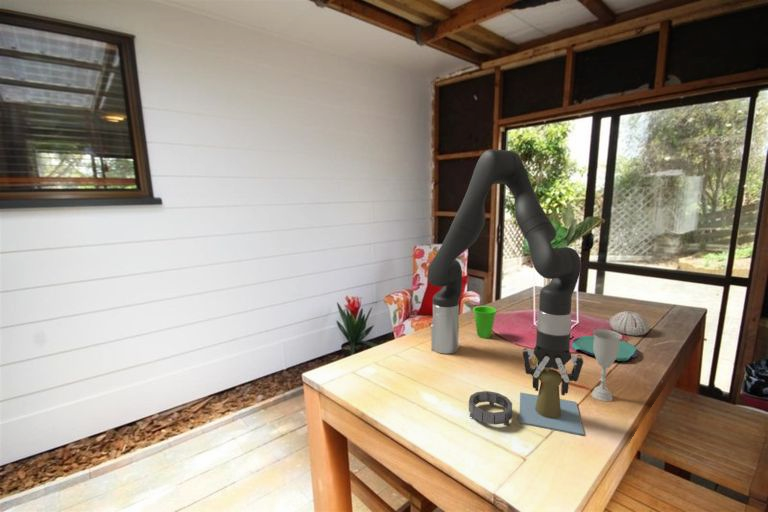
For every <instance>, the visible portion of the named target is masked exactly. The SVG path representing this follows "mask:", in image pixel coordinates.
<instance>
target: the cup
mask: <svg viewBox="0 0 768 512" xmlns="http://www.w3.org/2000/svg"><path fill="white" fill-rule="evenodd" d="M472 310H473V313H474V321H475V328H476V333H477V334H476V335H477V337H479V338H480V339H489V338H490V337H491V336H492V333H493V328H494V322H495V318H496V317H495V316H496V313H497V311H498V310H497V308H496V307H493V306H489V305H488V306H487V305H478V306H474V307H473V308H472Z"/></svg>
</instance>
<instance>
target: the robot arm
mask: <svg viewBox="0 0 768 512" xmlns="http://www.w3.org/2000/svg"><path fill="white" fill-rule="evenodd" d="M493 185H505V186H506V187H507V188H508V189H509V191H510V192H511V194H512V196H513V198H514V216H515V217H514V218H515V221H516V223H517V226H518V227H519V230H520V231H521V233H522V235H523V236H524V238H525V240H526V241H527V244H528V249H529V253H530V257H531V262H532V265H533V268H534V270H535V271H536V272H537V273H538V275H540V276H541V277H542V278H544V279H548V280H550V282H549V283H548V284H547V285H545V286H543V287H542V288H541V289H540V291H539V292H540V293H539V303H538V314H537V320H536V338H535V339H536V340H535V341H536V342H535V347H534V348H533V349H528V348H527V347H524V348H523V349H522V358H523V362H524V363H523V364H524V369H525V373H526V374H527V375H531V377H532V388H533V389H535V392H539V389H540V384H539V383H540V379H539V375H540V373H541V372H542V370H543V369H545V368H550V369H554V370H559V373H560V374H561V378H562V381H561V383H560V385H561V386H560V393H561V394H560V395H561V396H565V395H567V394H568V393H569V383H570V382H577V381H578V380H579V377H580V375H581V370H582V367H583V364H584V359H583V356H582V355H580V354H578V355H575V354H572V353H571V351H570V346H571V345H570V344H571V339H570V336H571V335H572V334H571V330H572V315H571V314H572V313H571V312H572V298H573V294H574V292H575V289H576V286H577V283H578V281H579V279H580V278H579V277H580V274H581V269H582V260H581V257H580V255H579V253H578V252H577V250H575V249H574V248H572V247H558V248H557V247H556V248H554V247H553V244H552V243H551V242H553V241H554V240H555V238H556V237H557V230H556V228H555V227H554V224H553V223H552V222H551V220H550V218H549V217H548V216H547V214H546V212H545V210H544V208H543V207H542V206H541V203H540V201H539V200H538V197H537V196H536V195H537V194H536V192H535V191H534V188H533V186H532V183H531V181H530V178H529V175H528V173H527V170H526V168H525V165H524V163H523V161H522V159H521V157H520V155H519V154H518V153H516V152H515V151H512V150H507V149H488V150H485V151H483V153H482V154H481V155H480V157H479V158H478V161H477V162H476V165H475V167H474V169H473V173H472V176H471V179H470V181H469V184H468V187H467V190H466V193H465V195H464V197H463V200H462V201H461V205H460V206H459V209H458V210H457V212H456V215H455V216H454V219H453V220H452V222H451V225H450V227H449V230H448V231H447V233H446V235H445V238H444V240H443V242H442V243H441V246H440V247H439V249H438V251H437V252H436V253H435V255H434V257H433V259H432V260H431V262H430V264H429V266H428V268H427V280H428V282H429V283H430V285H432V286H434V287H442V288H441V289H440V290H439V291H437V292H436V293H435V294H434V295H433V296H432V324H431V327H430V328H431V333H430V334H431V340H430V341H431V343H430V344H431V345H430V346H431V347H430V348H431V349H430V350H432V351H435V352H436V353H440V354H445V355H446V354H448V355H449V354H454V353H456V352H458V350H459V330H460V329H459V328H460V327H459V319H460V318H459V312H460V310H459V309H460V307H459V303H460V299H461V294H462V282H463V271H462V266H461V264H460V262H459V261H458V260H457V259H458V257H459V256H460V255H462V254H463V253H464V252H465V251H467V250H468V249H469V248H470V247H471V246H472V245H474V243H475V242H476V241H477V240H478V238H479V236H480V234H481V233H482V231H483V228H484V227H485V223H486V209H485V200H486V198H487V195H488V193H489V192H490V190H491V188H492V187H493ZM533 356H536V358H537V359H538V361H537V364H536V365H535V367H534V368H532V366H531V361H530V360H531V359H533V358H532V357H533ZM570 360H571V363H572V364H573V366H572V369H571V373H568V371H567V369H566V364H567V363H569V362H570ZM544 367H545V368H544Z"/></svg>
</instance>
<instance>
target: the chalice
mask: <svg viewBox="0 0 768 512" xmlns="http://www.w3.org/2000/svg"><path fill="white" fill-rule="evenodd" d="M592 336H594V344H593V350H594V354H595V356H594V357H595V358H596V361H597V364H598V366H600V367H601V371H600V375H601V377H600V378H599V381H600V385H596V386H595V387H594V389H593V390H592V392H591V393H590V394H591V396H592V397H593V398H594V399H596V400H599V401H601V402H612V401H613V399H614V398H613V396H612V393H611V391H610V389H609V388H608V387H606V385H605V384H606V382H607V381H608V380H607V379H606V376H607V375H608V373H607V368H611V366H612V365H613V364H614V362H615V361H616V360H617V359H616V357H617V356H618V353H619V342H620V341H621V340H622V338H623V335H622V333H620V332H617V331H615V330H610V329H603V328H602V329H600V328H598V329H594V330H593V331H592Z"/></svg>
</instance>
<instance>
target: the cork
mask: <svg viewBox="0 0 768 512" xmlns="http://www.w3.org/2000/svg"><path fill="white" fill-rule="evenodd" d="M562 378H563V377H562V374H561V372H560V371H558V370H557V369H554V368H544V369H543V370H542V372H541V373H540V375H539V382H540V384H539V388H538V394H537V395H538V398H537V402H536V407H535V410H536V411H537V413H539V414H540V415H542V416H545V417H548V418H558V417H560V416H561V407H560V399H561V397H560V395H561V394H560V385H561V383H562Z"/></svg>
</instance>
